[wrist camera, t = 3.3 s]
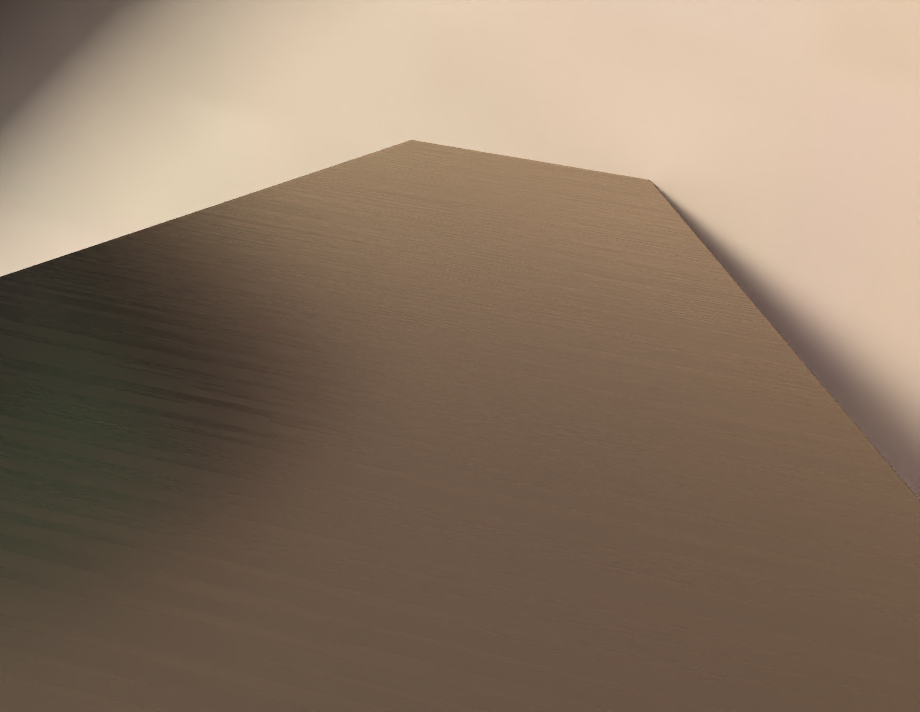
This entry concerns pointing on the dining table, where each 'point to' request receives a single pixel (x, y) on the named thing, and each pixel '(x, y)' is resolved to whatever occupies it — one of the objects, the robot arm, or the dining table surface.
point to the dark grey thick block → (434, 464)
